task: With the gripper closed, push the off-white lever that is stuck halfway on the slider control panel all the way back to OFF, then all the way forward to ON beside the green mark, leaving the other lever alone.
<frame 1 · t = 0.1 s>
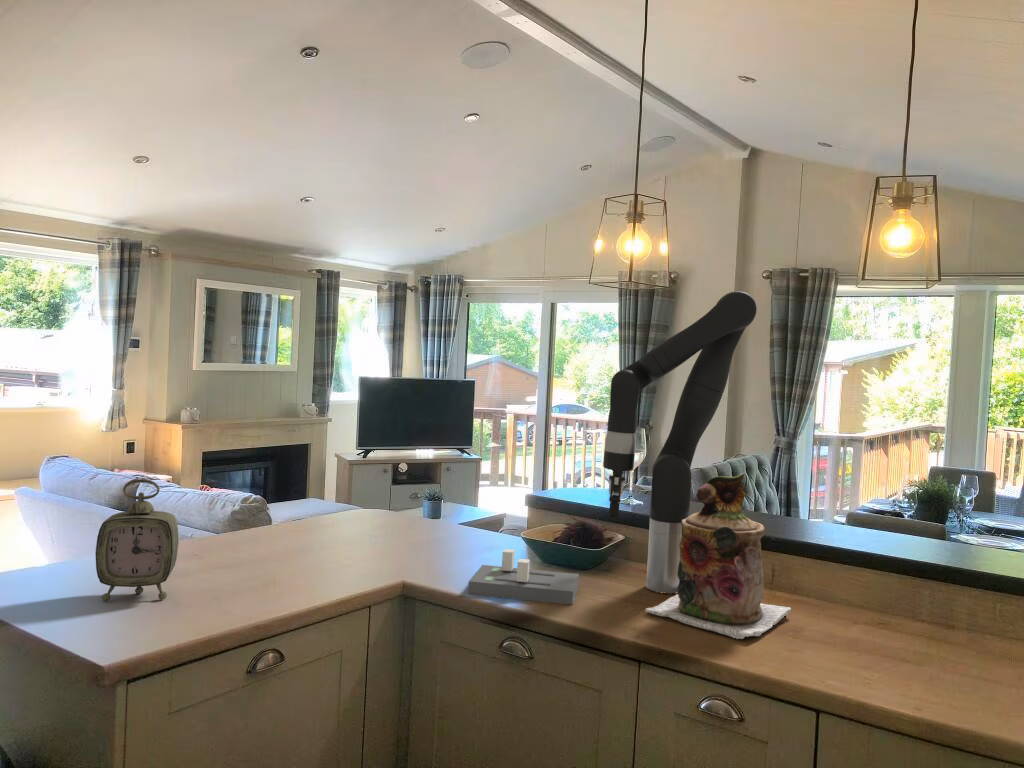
hand: (613, 515, 185), 17 cm above the worktop, tool pointing down, fingers open, 8 cm apart
tripped breaker lever: (523, 570, 172), point 6 cm above the worktop, slide at 0.0 cm
tabletop clock: (137, 597, 158), on the worktop
cookie jar: (718, 617, 164), on the worktop
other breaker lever: (508, 559, 181), point 6 cm above the worktop, slide at 5.0 cm
slider control panel: (524, 590, 176), on the worktop
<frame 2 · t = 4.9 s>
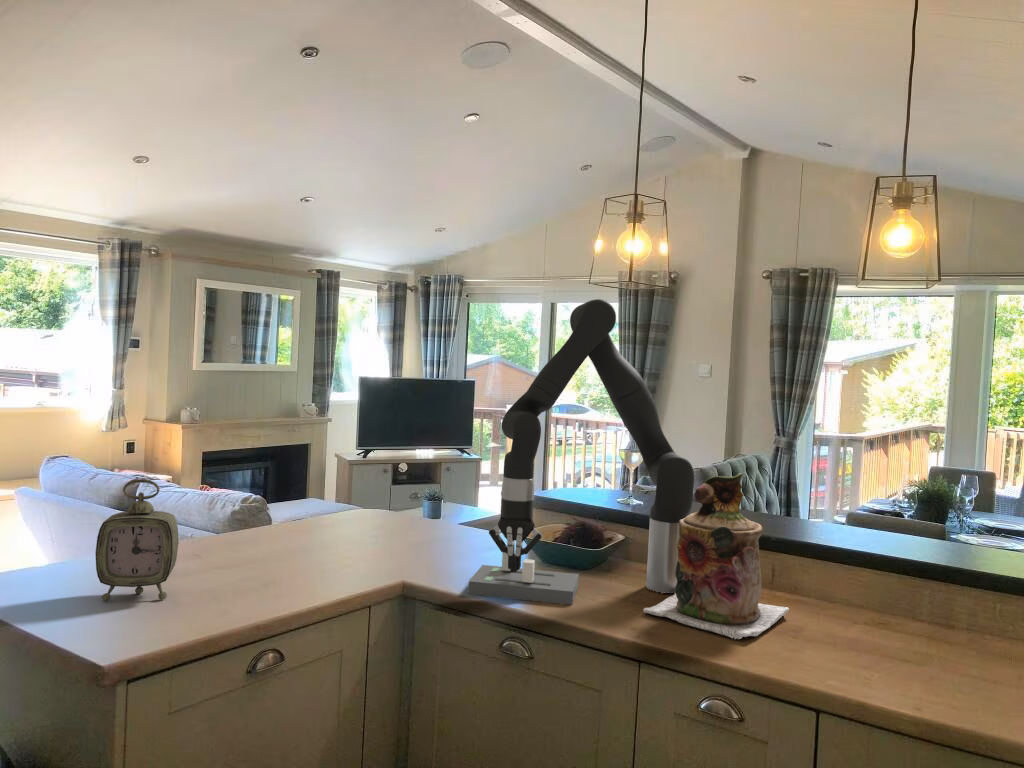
hand: (513, 571, 173), 5 cm above the worktop, tool pointing down, fingers closed
tripped breaker lever: (528, 570, 172), point 6 cm above the worktop, slide at -1.2 cm, touching gripper
everything else where it was.
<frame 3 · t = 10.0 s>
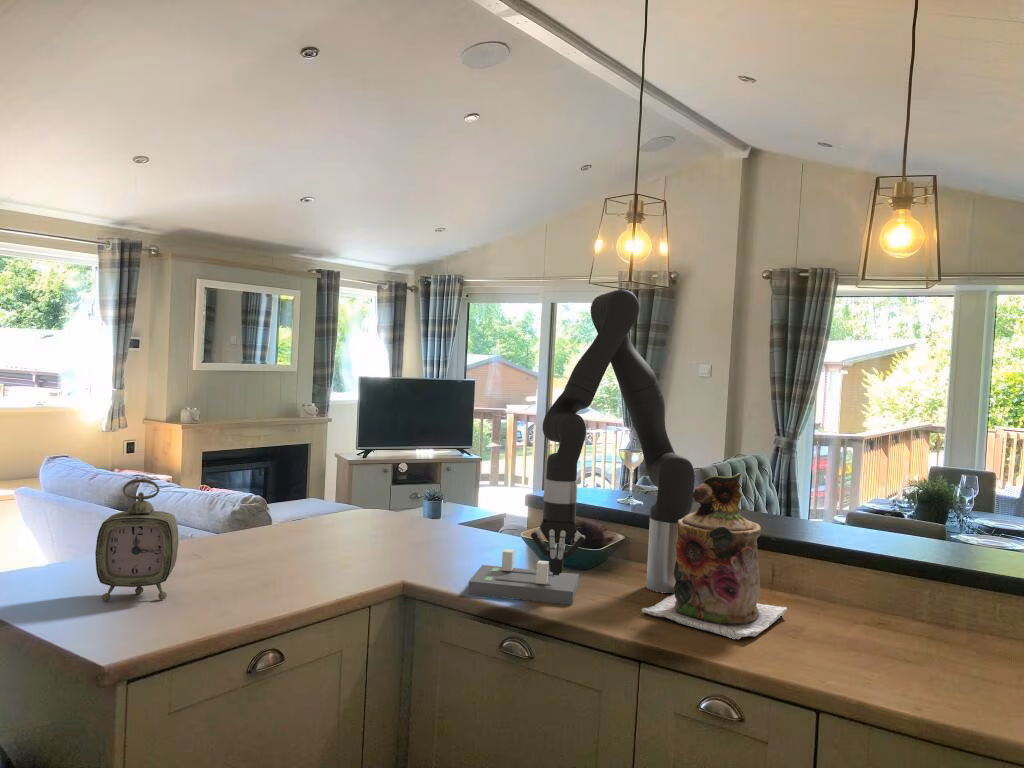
hand: (556, 574, 171), 6 cm above the worktop, tool pointing down, fingers closed
tripped breaker lever: (542, 572, 171), point 6 cm above the worktop, slide at -4.5 cm, touching gripper
everything else where it was.
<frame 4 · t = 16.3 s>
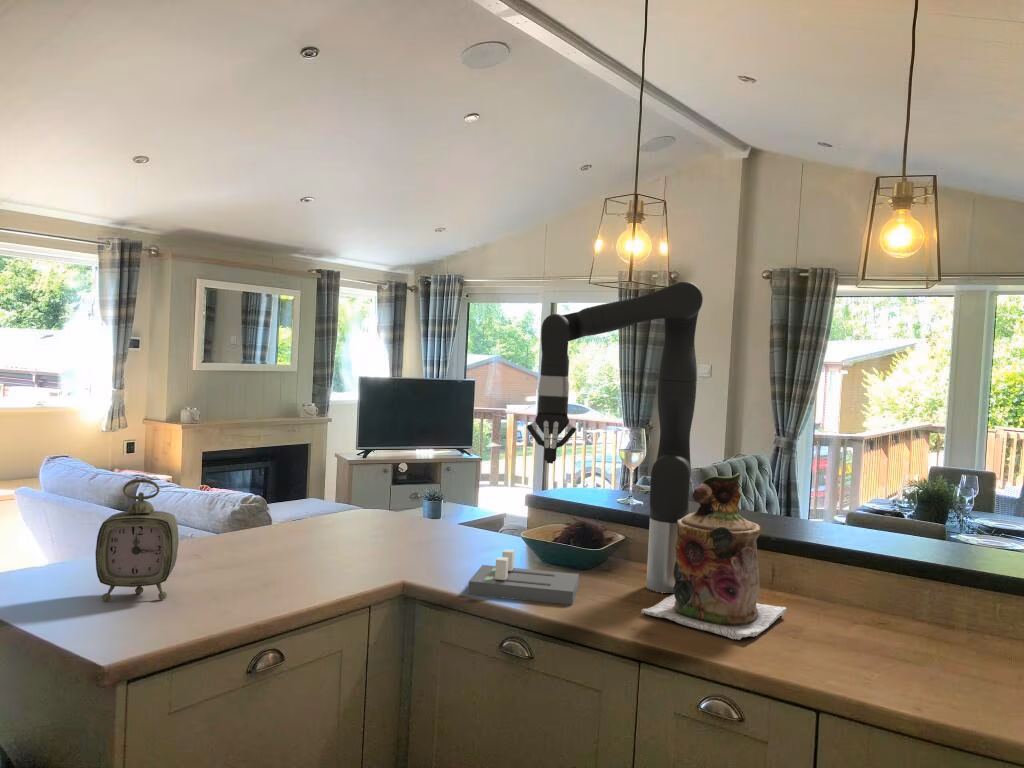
hand: (549, 462, 187), 29 cm above the worktop, tool pointing down, fingers closed
tripped breaker lever: (501, 568, 173), point 6 cm above the worktop, slide at 5.1 cm
at the end: tripped breaker lever slide at 5.1 cm; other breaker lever slide at 5.0 cm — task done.
